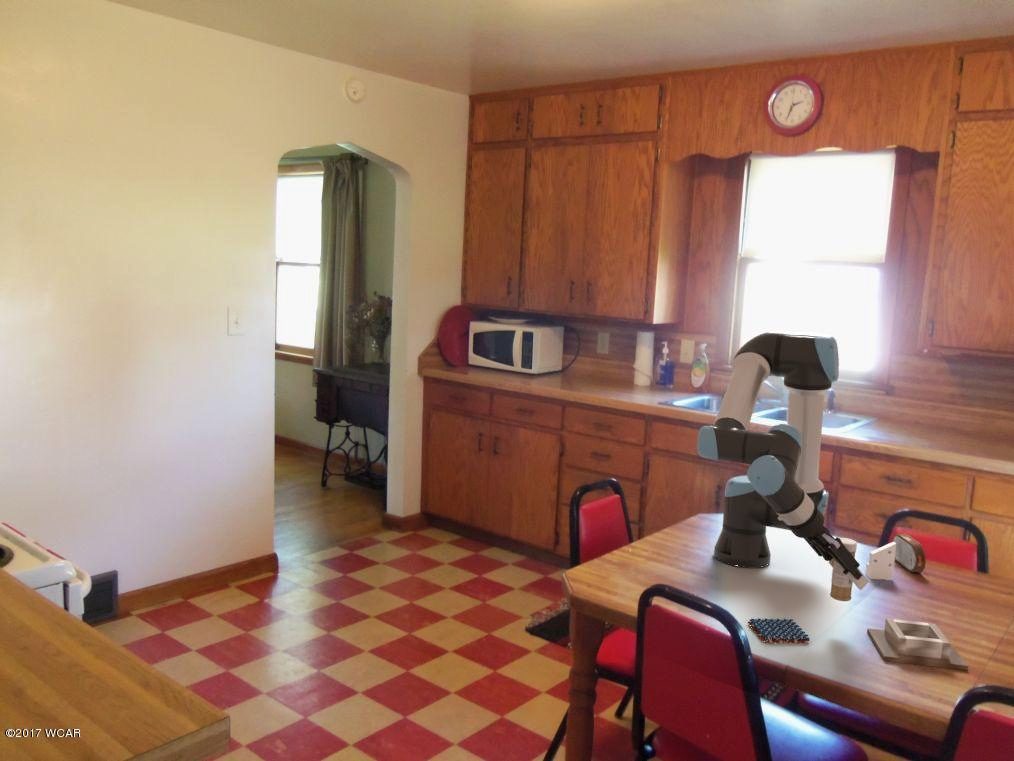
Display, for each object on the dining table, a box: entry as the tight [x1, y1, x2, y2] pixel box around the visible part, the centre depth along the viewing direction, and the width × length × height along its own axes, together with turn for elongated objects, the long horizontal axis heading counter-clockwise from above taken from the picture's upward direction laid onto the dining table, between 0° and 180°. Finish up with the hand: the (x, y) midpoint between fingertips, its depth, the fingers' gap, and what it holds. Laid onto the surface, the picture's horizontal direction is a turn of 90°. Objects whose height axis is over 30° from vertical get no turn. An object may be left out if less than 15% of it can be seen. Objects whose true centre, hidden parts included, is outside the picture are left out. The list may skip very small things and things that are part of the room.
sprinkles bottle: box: [829, 537, 858, 602], centre depth 184 cm, size 5×5×14 cm
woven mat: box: [747, 617, 811, 645], centre depth 181 cm, size 10×11×2 cm
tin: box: [892, 533, 927, 574], centre depth 228 cm, size 15×3×8 cm, turn 179°
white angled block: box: [865, 541, 896, 581], centre depth 219 cm, size 4×10×9 cm, turn 84°
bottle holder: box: [866, 618, 969, 671], centre depth 175 cm, size 16×14×4 cm
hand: (856, 580), depth 185 cm, fingers closed on sprinkles bottle, 4 cm apart
